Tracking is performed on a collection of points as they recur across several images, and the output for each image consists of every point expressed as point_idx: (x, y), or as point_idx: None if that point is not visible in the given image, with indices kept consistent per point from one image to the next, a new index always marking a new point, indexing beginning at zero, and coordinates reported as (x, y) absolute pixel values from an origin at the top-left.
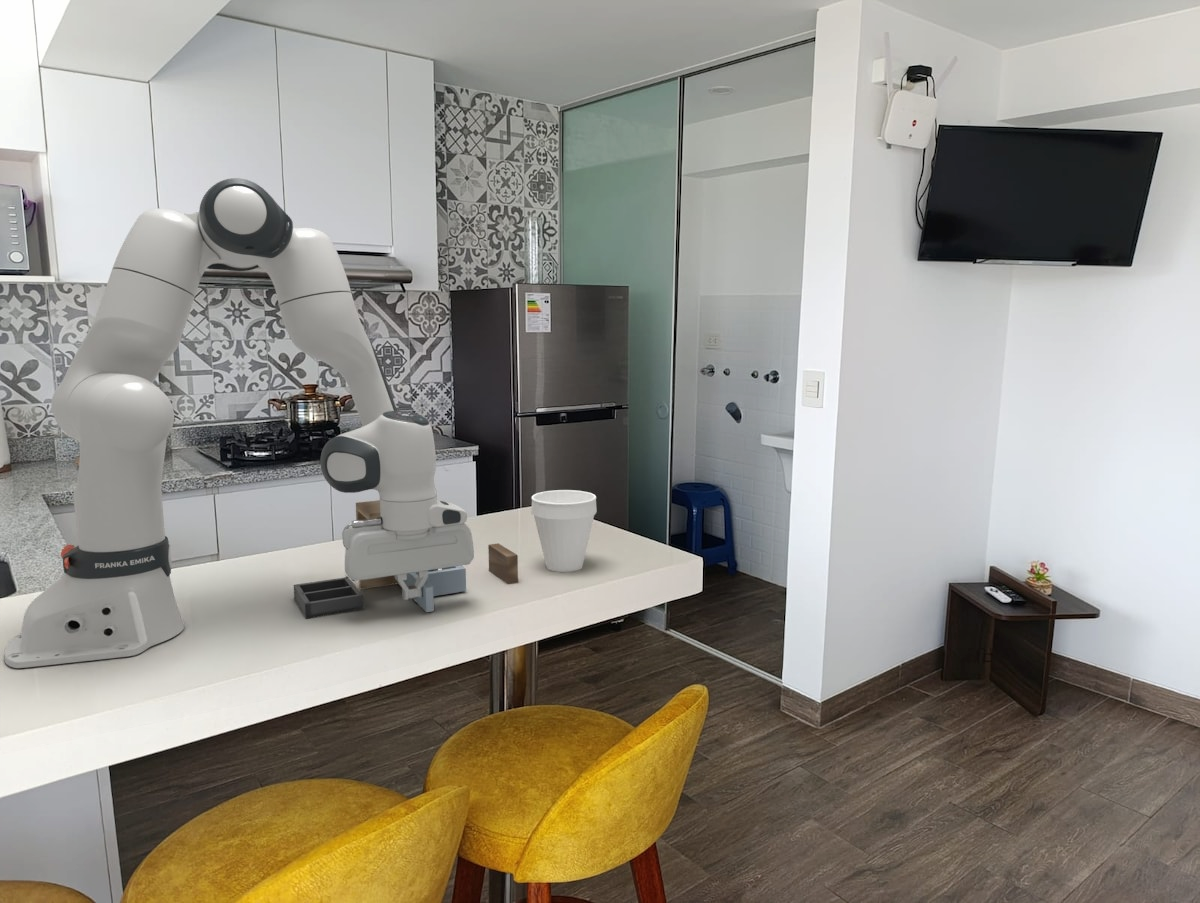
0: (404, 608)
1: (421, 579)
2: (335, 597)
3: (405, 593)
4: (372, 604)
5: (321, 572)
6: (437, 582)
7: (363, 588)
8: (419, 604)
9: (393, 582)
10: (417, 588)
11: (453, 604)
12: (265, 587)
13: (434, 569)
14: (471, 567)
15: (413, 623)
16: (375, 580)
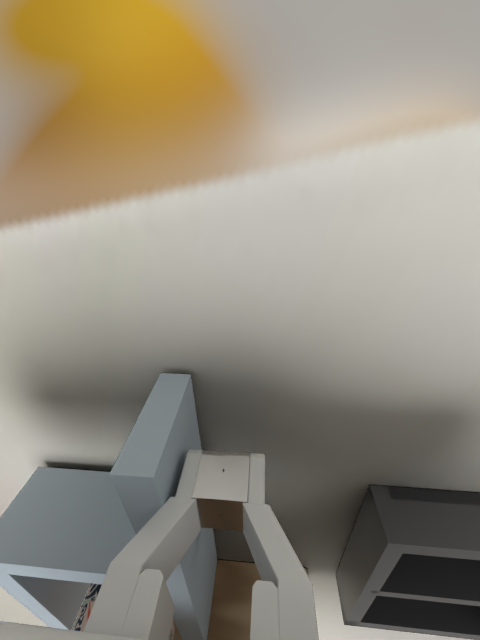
0: (251, 443)
1: (157, 553)
2: (419, 561)
3: (263, 484)
4: (327, 500)
5: (337, 632)
6: (105, 522)
7: None
8: (199, 440)
9: (225, 566)
10: (196, 497)
11: (84, 404)
12: None
13: (99, 587)
14: None
15: (272, 302)
16: None
